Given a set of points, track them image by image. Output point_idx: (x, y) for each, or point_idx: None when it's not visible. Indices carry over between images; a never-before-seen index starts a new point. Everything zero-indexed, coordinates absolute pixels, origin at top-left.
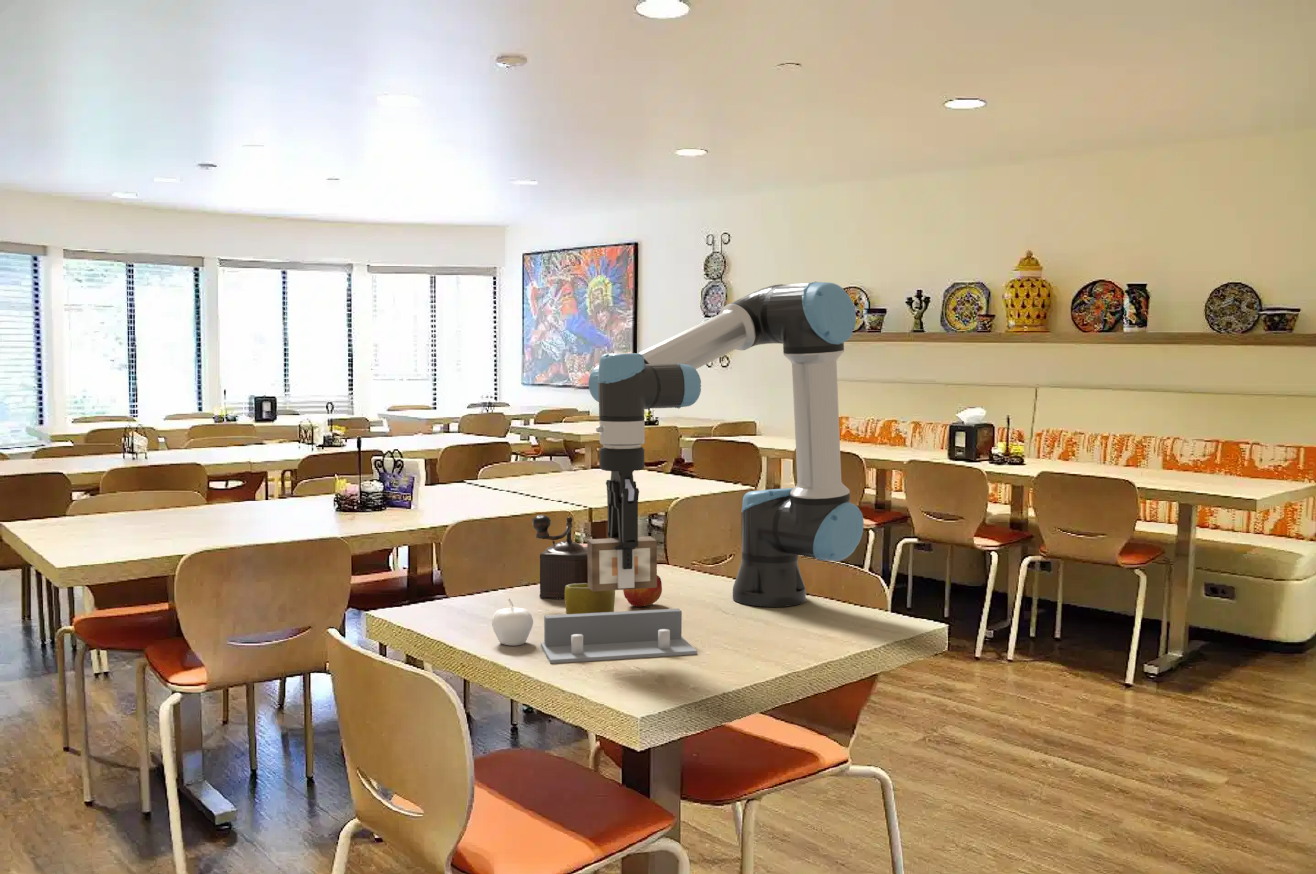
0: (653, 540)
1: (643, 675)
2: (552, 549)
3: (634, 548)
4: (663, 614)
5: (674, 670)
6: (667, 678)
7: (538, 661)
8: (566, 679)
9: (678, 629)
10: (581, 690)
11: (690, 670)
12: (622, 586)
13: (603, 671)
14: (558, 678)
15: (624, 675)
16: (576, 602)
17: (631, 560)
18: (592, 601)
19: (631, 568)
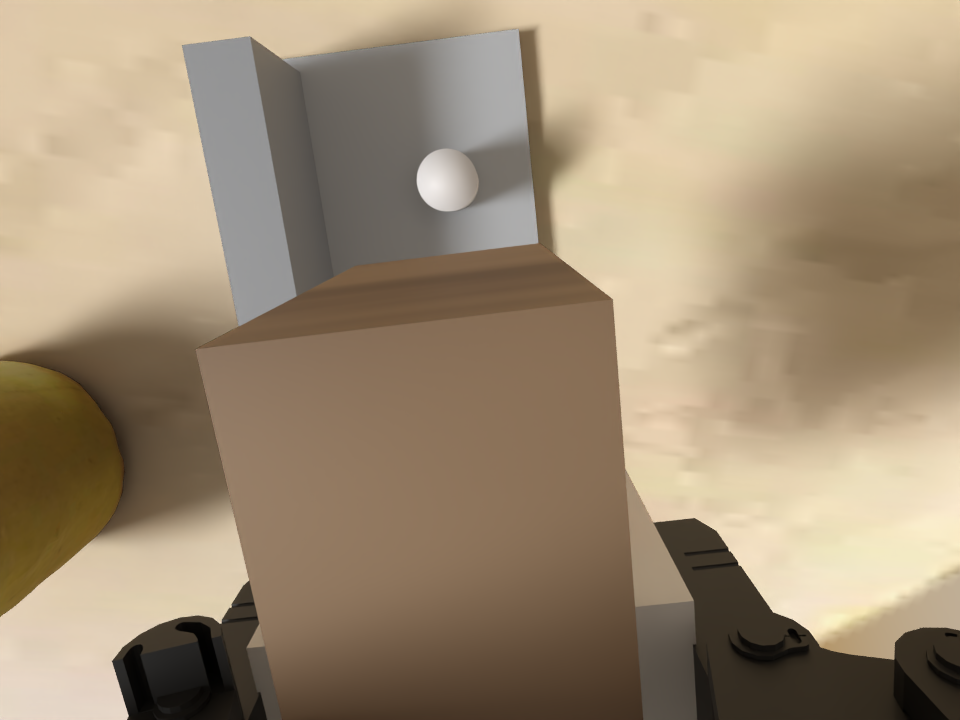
0: (613, 355)
1: (792, 318)
2: None
3: (779, 619)
4: (275, 157)
5: (750, 181)
6: (855, 228)
7: None
8: (779, 590)
9: (287, 79)
10: (921, 552)
11: (764, 110)
12: None
13: (706, 460)
14: None
15: (776, 390)
16: (29, 588)
17: (738, 570)
18: (37, 519)
19: (697, 525)
